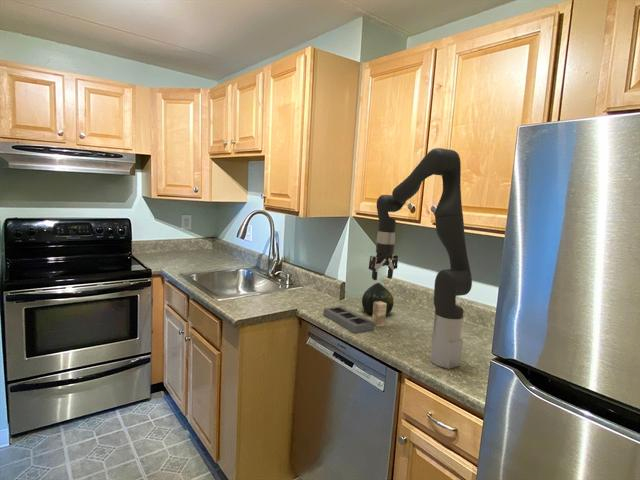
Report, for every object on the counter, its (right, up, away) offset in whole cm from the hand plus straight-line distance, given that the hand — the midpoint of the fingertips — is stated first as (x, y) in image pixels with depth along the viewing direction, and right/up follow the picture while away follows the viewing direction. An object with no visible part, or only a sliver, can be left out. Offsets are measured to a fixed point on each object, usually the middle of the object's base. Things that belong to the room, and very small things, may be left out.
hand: (382, 279), depth 162 cm
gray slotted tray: (-15, -19, +4) cm, 25 cm away
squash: (0, -18, +19) cm, 26 cm away
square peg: (-1, -20, +3) cm, 21 cm away
